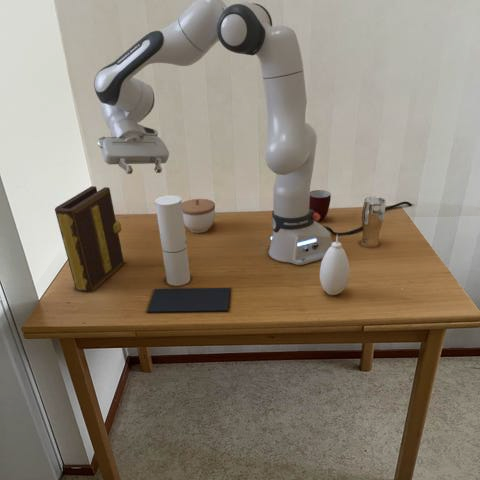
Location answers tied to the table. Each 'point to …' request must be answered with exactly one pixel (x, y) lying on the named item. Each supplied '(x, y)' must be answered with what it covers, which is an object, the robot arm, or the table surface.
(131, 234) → the table surface
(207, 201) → the lidded bowl
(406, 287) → the table surface
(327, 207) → the mug
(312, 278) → the table surface
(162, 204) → the cylindrical container
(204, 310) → the felt mat
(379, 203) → the beer glass
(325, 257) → the white bulb air blower
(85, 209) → the book
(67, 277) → the table surface
